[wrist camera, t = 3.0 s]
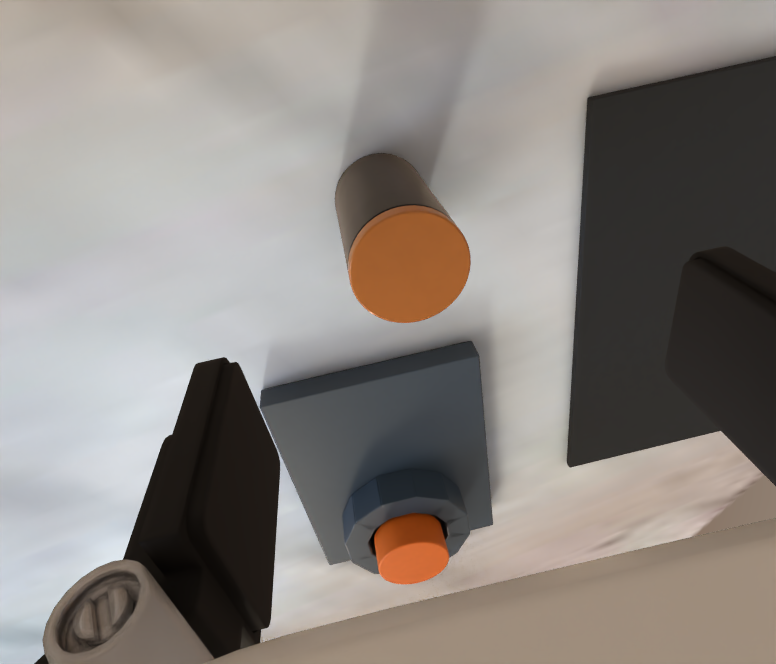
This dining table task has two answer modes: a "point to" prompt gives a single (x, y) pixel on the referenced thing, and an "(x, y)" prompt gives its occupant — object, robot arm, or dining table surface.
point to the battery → (398, 241)
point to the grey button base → (386, 448)
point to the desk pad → (661, 241)
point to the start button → (410, 548)
